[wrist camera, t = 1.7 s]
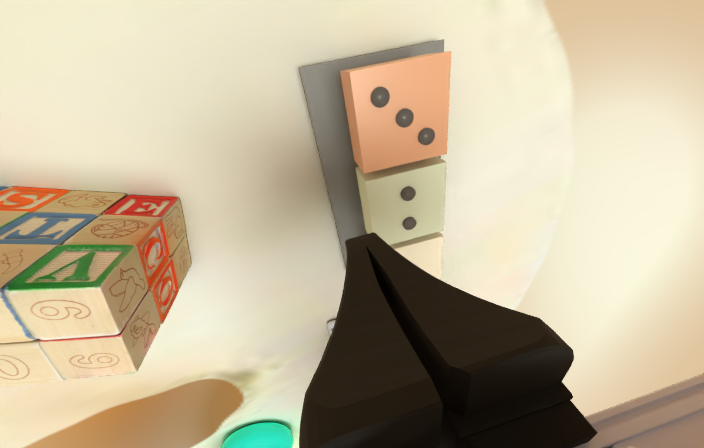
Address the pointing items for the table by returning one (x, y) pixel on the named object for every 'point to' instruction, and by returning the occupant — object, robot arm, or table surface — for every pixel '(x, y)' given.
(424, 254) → the tile one
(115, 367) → the stack of blocks
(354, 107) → the tile three
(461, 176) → the table surface
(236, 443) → the donuts
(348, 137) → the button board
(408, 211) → the tile two
